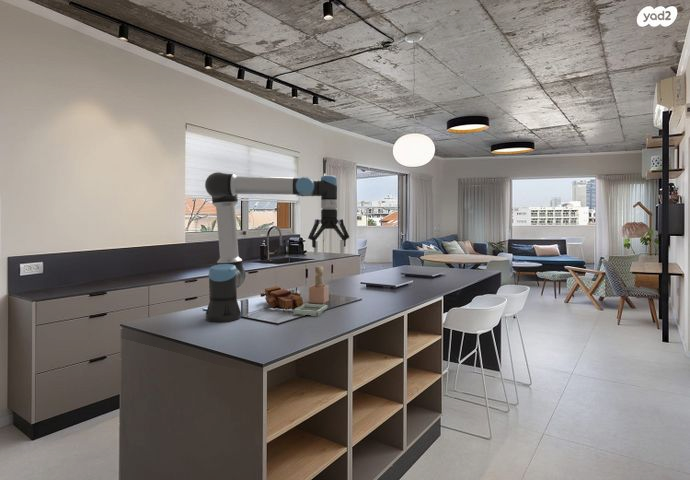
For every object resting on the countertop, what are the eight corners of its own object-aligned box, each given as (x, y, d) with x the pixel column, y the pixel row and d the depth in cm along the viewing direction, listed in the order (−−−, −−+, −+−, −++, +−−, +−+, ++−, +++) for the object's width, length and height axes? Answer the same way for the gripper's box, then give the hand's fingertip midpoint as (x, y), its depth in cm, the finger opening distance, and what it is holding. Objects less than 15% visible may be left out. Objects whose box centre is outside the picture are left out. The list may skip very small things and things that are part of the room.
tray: (293, 314, 196) (293, 309, 196) (304, 308, 209) (304, 303, 209) (317, 316, 193) (317, 311, 193) (327, 309, 206) (327, 305, 206)
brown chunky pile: (310, 307, 206) (283, 296, 231) (308, 290, 205) (281, 281, 230) (279, 316, 197) (254, 304, 222) (277, 298, 196) (252, 288, 221)
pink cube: (309, 304, 218) (309, 286, 218) (314, 301, 226) (314, 284, 226) (323, 305, 216) (323, 287, 216) (328, 302, 224) (328, 285, 223)
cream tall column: (314, 301, 220) (314, 267, 219) (316, 300, 224) (316, 266, 222) (321, 302, 219) (321, 267, 217) (323, 300, 222) (323, 266, 221)
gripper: (307, 208, 191) (307, 255, 192) (356, 209, 202) (356, 253, 203) (301, 208, 198) (301, 254, 199) (349, 209, 209) (349, 252, 210)
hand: (329, 254), depth 201 cm, fingers open, 13 cm apart
